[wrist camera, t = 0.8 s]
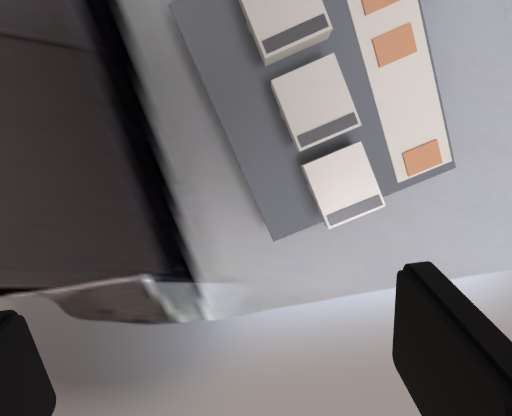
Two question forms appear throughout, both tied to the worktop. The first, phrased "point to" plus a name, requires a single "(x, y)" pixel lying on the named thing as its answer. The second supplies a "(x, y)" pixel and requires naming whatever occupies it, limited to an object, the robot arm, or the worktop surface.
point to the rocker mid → (315, 102)
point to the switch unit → (358, 83)
